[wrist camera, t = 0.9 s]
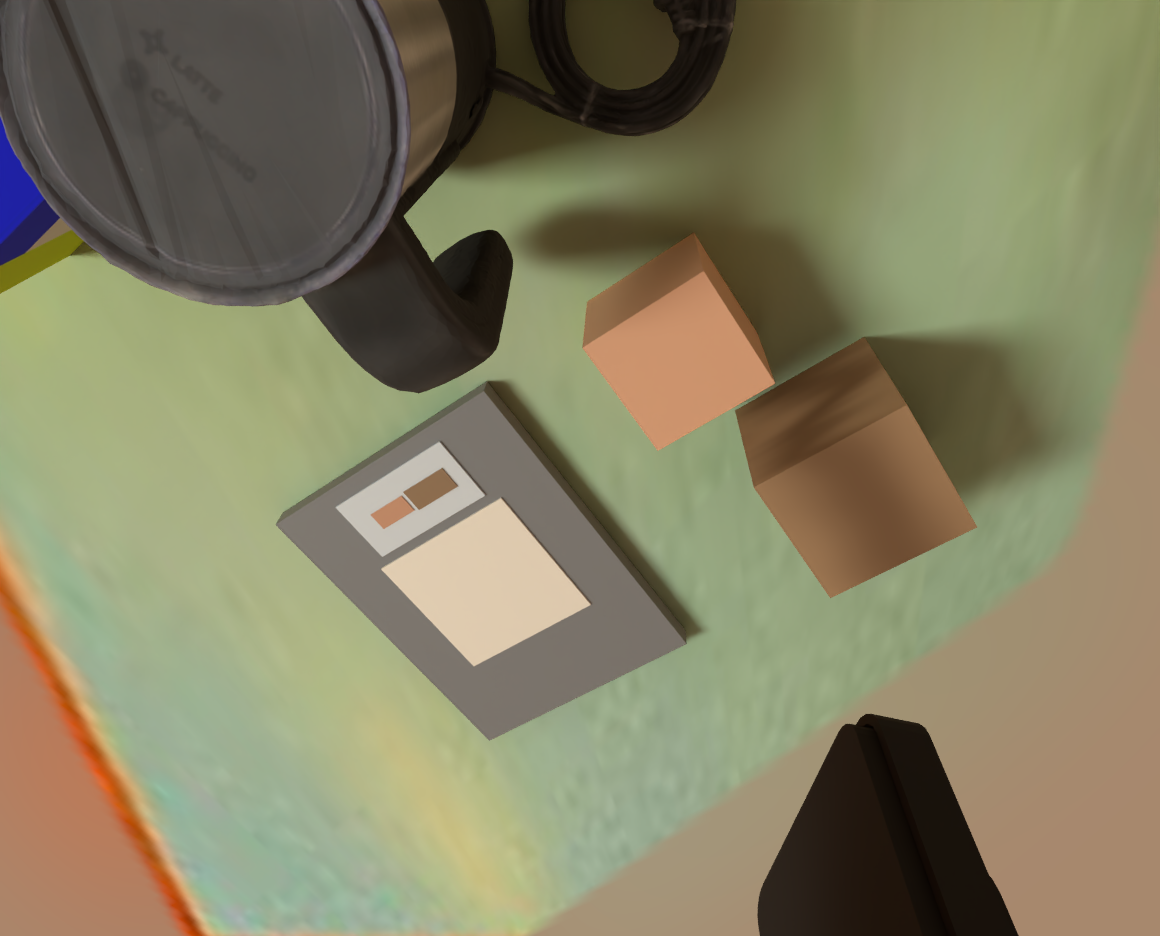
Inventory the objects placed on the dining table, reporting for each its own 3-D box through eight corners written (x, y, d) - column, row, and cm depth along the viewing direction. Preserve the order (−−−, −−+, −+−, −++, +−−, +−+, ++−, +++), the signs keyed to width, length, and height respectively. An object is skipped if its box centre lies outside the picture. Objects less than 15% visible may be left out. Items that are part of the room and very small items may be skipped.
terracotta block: (693, 231, 35) (703, 270, 31) (757, 333, 37) (775, 383, 33) (587, 301, 37) (582, 347, 33) (653, 395, 39) (657, 450, 35)
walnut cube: (863, 336, 37) (906, 404, 32) (926, 445, 40) (977, 527, 34) (735, 409, 39) (754, 487, 33) (801, 509, 41) (830, 597, 36)
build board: (486, 381, 39) (483, 392, 38) (685, 630, 45) (686, 645, 44) (282, 513, 42) (274, 526, 41) (491, 726, 49) (489, 742, 48)
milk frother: (187, 53, 33) (-93, 118, 20) (460, -378, 27) (311, -682, 14) (489, 312, 37) (419, 502, 24) (784, -8, 31) (897, 19, 18)
